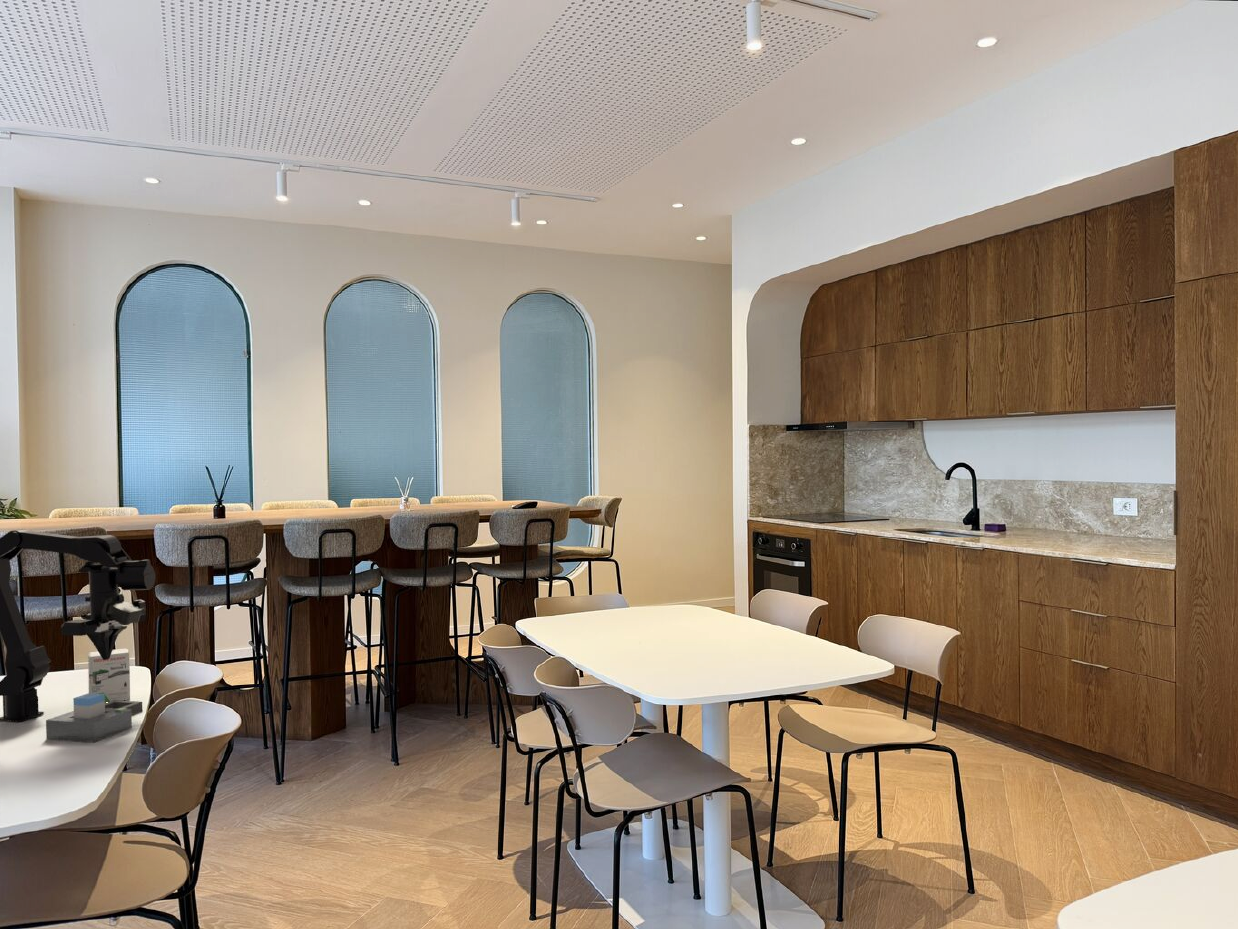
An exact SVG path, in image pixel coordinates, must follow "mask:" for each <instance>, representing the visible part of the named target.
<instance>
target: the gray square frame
mask: <svg viewBox="0 0 1238 929" xmlns="http://www.w3.org/2000/svg"><path fill="white" fill-rule="evenodd" d="M105 708H117V709H119V708H127V709H131V714H132V715H134V714H137V713H140V712H142V711H143V701H138V700H137V701H135V700H125V701H118V700H114V701H111V702H108V703H105Z"/></svg>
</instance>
